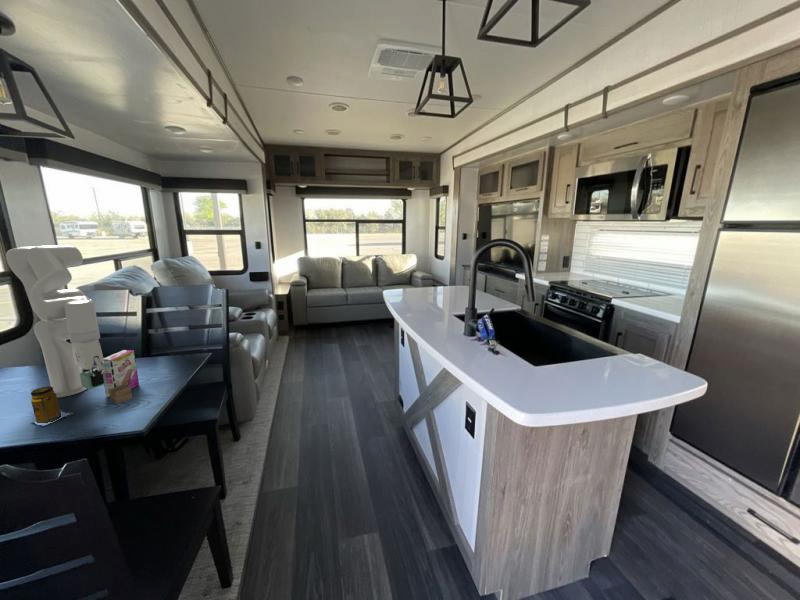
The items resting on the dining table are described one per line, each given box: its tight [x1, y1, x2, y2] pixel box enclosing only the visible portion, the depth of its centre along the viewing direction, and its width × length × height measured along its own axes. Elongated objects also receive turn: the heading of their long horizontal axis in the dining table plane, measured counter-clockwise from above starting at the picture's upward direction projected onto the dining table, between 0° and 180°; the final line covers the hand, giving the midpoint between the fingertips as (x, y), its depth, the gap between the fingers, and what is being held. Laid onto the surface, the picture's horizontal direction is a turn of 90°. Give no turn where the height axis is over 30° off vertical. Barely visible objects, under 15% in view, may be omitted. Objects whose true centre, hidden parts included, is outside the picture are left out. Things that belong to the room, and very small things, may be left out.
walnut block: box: [109, 384, 133, 405], centre depth 129 cm, size 5×5×5 cm
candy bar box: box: [102, 349, 140, 398], centre depth 134 cm, size 11×5×16 cm, turn 178°
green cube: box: [80, 368, 107, 390], centre depth 116 cm, size 5×5×5 cm
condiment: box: [30, 385, 74, 423], centre depth 114 cm, size 7×8×12 cm
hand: (94, 382), depth 116 cm, fingers closed on green cube, 4 cm apart
